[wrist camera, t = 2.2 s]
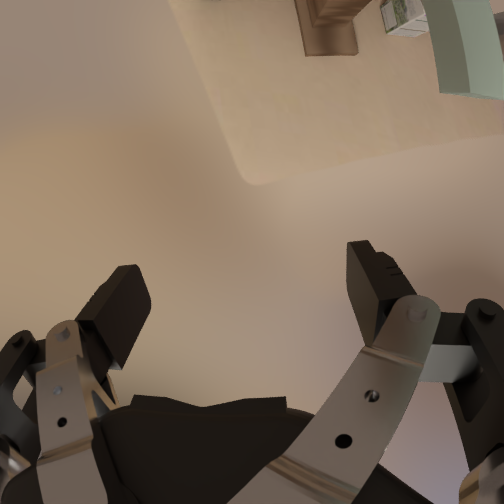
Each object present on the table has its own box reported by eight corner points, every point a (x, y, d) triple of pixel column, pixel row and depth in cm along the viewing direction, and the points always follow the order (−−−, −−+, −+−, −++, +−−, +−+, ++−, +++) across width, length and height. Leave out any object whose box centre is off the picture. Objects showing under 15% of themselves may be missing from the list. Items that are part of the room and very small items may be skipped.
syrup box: (415, 38, 34) (461, 21, 21) (384, 34, 34) (425, 12, 21) (408, 10, 31) (450, -14, 18) (377, 6, 32) (414, -24, 19)
